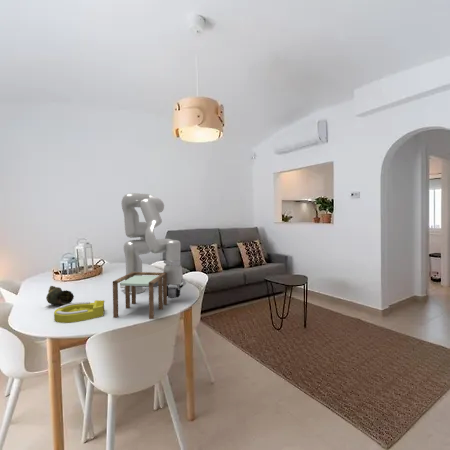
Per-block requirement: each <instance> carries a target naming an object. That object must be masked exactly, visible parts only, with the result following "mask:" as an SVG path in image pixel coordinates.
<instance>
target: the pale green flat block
mask: <svg viewBox="0 0 450 450" xmlns="http://www.w3.org/2000/svg"><path fill="white" fill-rule="evenodd" d="M158 276H159V275H142V276H133V277H131V278H129V279H127V280H123V281H121V282H119V286H120V285H125V286H134V287H143V288H149V282H150V281H152V280H153V279H155V278H156V277H158ZM153 287H154V288H158V281H157V282H156V283H155V284H153Z"/></svg>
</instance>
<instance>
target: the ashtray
mask: <svg viewBox="0 0 450 450" xmlns="http://www.w3.org/2000/svg"><path fill="white" fill-rule="evenodd" d="M104 314H105V301H104V300H102V299H101V300H97V299H96V300H94V302H91V301H84V302H83V301H81V302H71V303H69V304H66V305H60V306H59V307H58V308H56V309H55V310H54V312H53V315H54V316H53V317H54V321H55V322H57V323H60V324H68V323H69V324H70V323H77V322H82V321H87V320H92V319H96V318H99V317H103V316H104Z"/></svg>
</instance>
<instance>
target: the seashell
mask: <svg viewBox="0 0 450 450" xmlns="http://www.w3.org/2000/svg"><path fill="white" fill-rule="evenodd" d="M48 288H49V289H48V293H47V295H46V302H47V303H49V304H50V305H54V306H55V305H56V306H59V305H60V306H63V305H66V304H71V303H72V302H73V300H74V297H75V296H74V293H73V292H72V291H70V290H62V288H61V287H59V286H57V287H56V286H54V285H50V286H49V287H48Z"/></svg>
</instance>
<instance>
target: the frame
mask: <svg viewBox="0 0 450 450" xmlns="http://www.w3.org/2000/svg"><path fill="white" fill-rule="evenodd" d="M135 275H142V276H158V277H156V278H155V279H153V280H152V281H150V282H149V287H148V314H149V316H148V318H149V319H150V320H153V319H154V318H155V303H154V302H155V301H154V300H155V298H154V297H155V296H154V295H155V294H154V288H155V287H153V284H155V283H156V282H157V281H158V287H157V288H158V291H157V292H158V297H157V298H158V299H157V300H158V310H163V307H164V306H167V305H168V296H167V273H163V272H152V271H149V272H147V271H142V272H131V273H129V274H127V275H126V274H125V275H123V276H121V277H119V278H117V279H115V280H113V281H112V308H113V309H112V314H113V315H112V316H113V317H112V318H117V319H118V317H119V284H120V283H121V282H123V281H125V280H127V279H129V278H130V277H133V276H135ZM162 278H163V286H162ZM131 292H132V294H130V286H125V293H124V295H125V309H130V308H131V305H136V303H137V300H136V299H137V294H136V287H134V286H131Z"/></svg>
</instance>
